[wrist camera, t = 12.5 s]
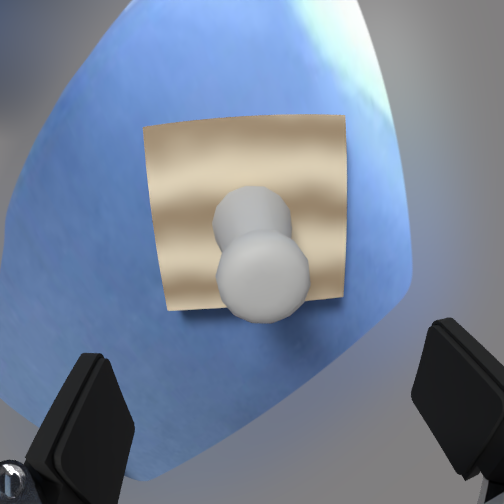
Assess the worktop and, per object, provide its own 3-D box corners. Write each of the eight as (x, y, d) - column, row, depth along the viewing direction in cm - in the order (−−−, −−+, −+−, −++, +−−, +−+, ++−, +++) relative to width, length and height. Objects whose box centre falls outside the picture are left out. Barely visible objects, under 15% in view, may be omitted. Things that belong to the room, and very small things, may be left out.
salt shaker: (248, 166, 24) (263, 191, 12) (300, 213, 26) (358, 279, 14) (199, 221, 26) (170, 296, 13) (252, 265, 27) (268, 364, 15)
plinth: (334, 283, 32) (343, 296, 29) (173, 295, 31) (167, 310, 28) (333, 117, 26) (345, 115, 23) (152, 128, 26) (142, 127, 23)
